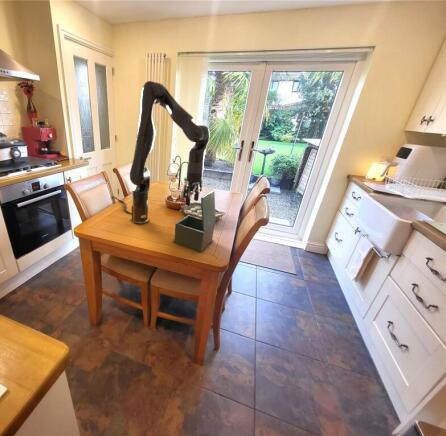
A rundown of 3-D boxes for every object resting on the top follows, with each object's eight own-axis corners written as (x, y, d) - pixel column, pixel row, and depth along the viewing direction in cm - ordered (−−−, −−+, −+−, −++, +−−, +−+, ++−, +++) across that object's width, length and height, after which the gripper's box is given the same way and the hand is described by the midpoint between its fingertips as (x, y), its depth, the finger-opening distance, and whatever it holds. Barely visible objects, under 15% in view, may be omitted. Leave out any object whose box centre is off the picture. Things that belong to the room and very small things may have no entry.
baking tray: (172, 213, 157) (173, 205, 155) (192, 205, 172) (192, 198, 169) (210, 228, 139) (212, 220, 137) (228, 217, 154) (230, 210, 151)
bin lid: (200, 198, 105) (202, 198, 105) (212, 190, 116) (214, 190, 115) (202, 231, 111) (204, 232, 110) (214, 221, 121) (215, 222, 121)
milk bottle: (189, 202, 176) (191, 176, 168) (190, 206, 169) (193, 179, 161) (179, 202, 176) (181, 176, 168) (180, 206, 169) (182, 179, 161)
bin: (174, 241, 123) (175, 223, 119) (186, 232, 134) (188, 214, 129) (200, 251, 116) (203, 232, 111) (212, 240, 126) (214, 222, 121)
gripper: (195, 167, 117) (192, 197, 124) (180, 172, 107) (177, 205, 114) (208, 169, 113) (205, 200, 120) (194, 175, 103) (191, 209, 110)
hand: (191, 202), depth 117 cm, fingers open, 8 cm apart
